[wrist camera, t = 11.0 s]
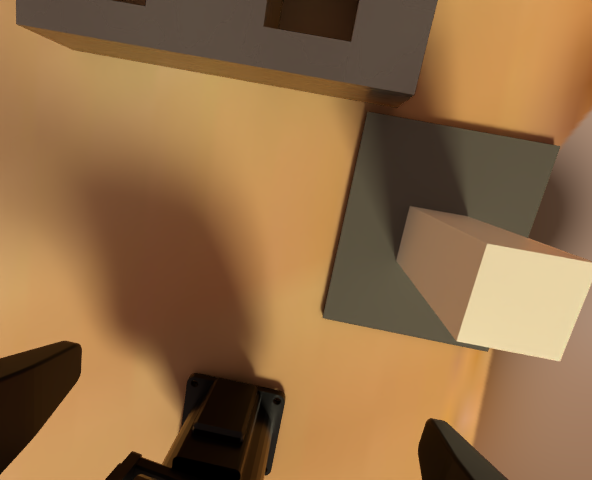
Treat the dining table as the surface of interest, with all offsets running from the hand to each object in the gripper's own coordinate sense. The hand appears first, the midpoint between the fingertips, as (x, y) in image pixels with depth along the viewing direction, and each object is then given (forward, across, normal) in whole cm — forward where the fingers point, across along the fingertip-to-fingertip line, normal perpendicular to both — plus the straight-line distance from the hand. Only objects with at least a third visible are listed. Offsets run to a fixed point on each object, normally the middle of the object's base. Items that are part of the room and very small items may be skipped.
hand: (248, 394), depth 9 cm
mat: (+12, -8, -3) cm, 14 cm away
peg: (+12, -8, -3) cm, 14 cm away
